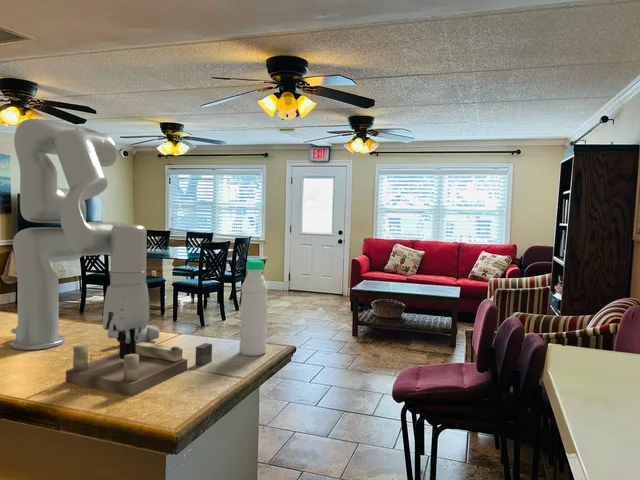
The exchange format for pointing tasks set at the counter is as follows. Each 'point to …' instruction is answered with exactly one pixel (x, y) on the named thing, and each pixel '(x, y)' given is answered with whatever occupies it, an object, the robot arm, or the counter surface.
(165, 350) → the hinged leg
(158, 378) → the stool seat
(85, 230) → the robot arm
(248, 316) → the water bottle
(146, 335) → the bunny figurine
